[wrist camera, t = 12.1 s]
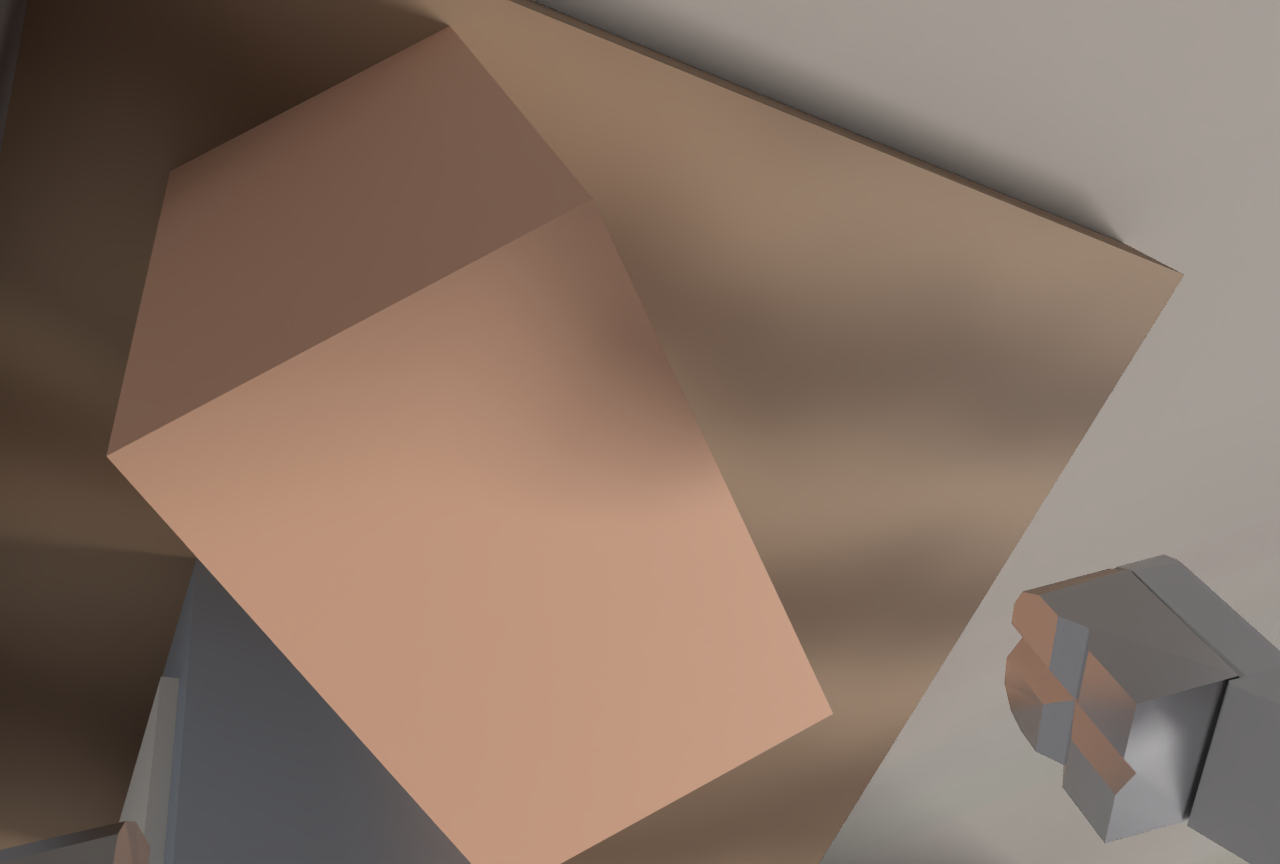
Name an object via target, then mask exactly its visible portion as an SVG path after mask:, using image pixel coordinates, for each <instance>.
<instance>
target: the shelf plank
mask: <svg viewBox="0 0 1280 864" xmlns="http://www.w3.org/2000/svg"><path fill="white" fill-rule="evenodd" d="M448 26H450V27H451V28H452V29H453V30H454V32H455V33H456V34H457V35H458V36H459V38H460V39H461V40H462V41H463V42H464V44H465V45H466V46H467V47H468V48H469V50H470V51H471V52H472V53H473V55H474V56H475V57H476V58H477V59H478V61H479V62H480V63H481V64H482V65H483V67H484V68H485V69H486V70H487V71H488V73H489V74H490V75H491V76H492V78H493V79H494V80H495V81H496V82H497V84H498V85H499V86H500V87H501V88H502V90H503V91H504V92H505V93H506V94H507V96H508V97H509V98H510V99H511V101H512V102H513V103H514V104H515V105H516V107H517V108H518V109H519V110H520V111H521V113H522V114H523V115H524V116H525V117H526V119H527V120H528V121H529V122H530V123H531V125H532V126H533V127H534V128H535V130H536V131H537V132H538V133H539V134H540V136H541V137H542V138H543V139H544V140H545V142H546V143H547V144H548V145H549V146H550V148H551V149H552V150H553V151H554V153H555V154H556V155H557V156H558V157H559V159H560V160H561V161H562V162H563V163H564V165H565V166H566V167H567V168H568V169H569V171H570V172H571V173H572V174H573V175H574V177H575V178H576V179H577V180H578V182H579V183H580V184H581V185H582V186H583V188H584V189H585V190H586V191H587V192H588V194H589V195H590V196H591V197H592V198H593V200H594V202H595V205H596V207H597V209H598V211H599V213H600V215H601V217H602V220H603V222H604V224H605V226H606V228H607V230H608V232H609V235H610V237H611V239H612V241H613V243H614V245H615V247H616V250H617V252H618V254H619V256H620V258H621V260H622V262H623V265H624V267H625V269H626V271H627V273H628V275H629V277H630V280H631V282H632V284H633V286H634V288H635V290H636V292H637V295H638V297H639V299H640V301H641V303H642V305H643V307H644V310H645V312H646V314H647V316H648V318H649V320H650V322H651V325H652V327H653V329H654V331H655V333H656V335H657V337H658V340H659V342H660V344H661V346H662V348H663V350H664V352H665V355H666V357H667V359H668V361H669V363H670V365H671V367H672V370H673V372H674V374H675V376H676V378H677V380H678V382H679V385H680V387H681V389H682V391H683V393H684V395H685V397H686V399H687V402H688V404H689V406H690V408H691V410H692V412H693V414H694V417H695V419H696V421H697V423H698V425H699V427H700V429H701V432H702V434H703V436H704V438H705V440H706V442H707V444H708V447H709V449H710V451H711V453H712V455H713V457H714V459H715V462H716V464H717V466H718V468H719V470H720V472H721V474H722V477H723V479H724V481H725V483H726V485H727V487H728V489H729V492H730V494H731V496H732V498H733V500H734V502H735V504H736V507H737V509H738V511H739V513H740V515H741V517H742V519H743V522H744V524H745V526H746V528H747V530H748V532H749V534H750V537H751V539H752V541H753V543H754V545H755V547H756V549H757V552H758V554H759V556H760V558H761V560H762V562H763V564H764V567H765V569H766V571H767V573H768V575H769V577H770V579H771V582H772V584H773V586H774V588H775V590H776V592H777V594H778V597H779V599H780V601H781V603H782V605H783V607H784V609H785V611H786V614H787V616H788V618H789V620H790V622H791V624H792V626H793V629H794V631H795V633H796V635H797V637H798V639H799V641H800V644H801V646H802V648H803V650H804V652H805V654H806V656H807V659H808V661H809V663H810V665H811V667H812V669H813V671H814V674H815V676H816V678H817V680H818V682H819V684H820V686H821V689H822V691H823V693H824V695H825V697H826V699H827V701H828V704H829V706H830V708H831V710H832V712H833V714H832V715H830V716H828V717H826V718H825V719H823V720H821V721H819V722H817V723H816V724H814V725H812V726H810V727H808V728H806V729H805V730H803V731H801V732H799V733H797V734H796V735H794V736H792V737H790V738H788V739H786V740H785V741H783V742H781V743H779V744H777V745H776V746H774V747H772V748H770V749H768V750H767V751H765V752H763V753H761V754H759V755H757V756H756V757H754V758H752V759H750V760H748V761H747V762H745V763H743V764H741V765H739V766H737V767H736V768H734V769H732V770H730V771H728V772H727V773H725V774H723V775H721V776H719V777H717V778H716V779H714V780H712V781H710V782H708V783H707V784H705V785H703V786H701V787H699V788H697V789H696V790H694V791H692V792H690V793H688V794H687V795H685V796H683V797H681V798H679V799H677V800H676V801H674V802H672V803H670V804H668V805H667V806H665V807H663V808H661V809H659V810H657V811H656V812H654V813H652V814H650V815H648V816H647V817H645V818H643V819H641V820H639V821H638V822H636V823H634V824H632V825H630V826H628V827H627V828H625V829H623V830H621V831H619V832H618V833H616V834H614V835H612V836H610V837H608V838H607V839H605V840H603V841H601V842H599V843H598V844H596V845H594V846H592V847H590V848H588V849H587V850H585V851H583V852H581V853H579V854H578V855H576V856H574V857H572V858H570V859H568V860H567V861H565V862H563V863H561V864H819V862H820V861H821V859H822V858H823V856H824V854H825V853H826V851H827V850H828V848H829V846H830V845H831V843H832V841H833V840H834V838H835V837H836V835H837V833H838V832H839V830H840V829H841V827H842V825H843V824H844V822H845V821H846V819H847V817H848V816H849V814H850V812H851V811H852V809H853V808H854V806H855V804H856V803H857V801H858V800H859V798H860V796H861V795H862V793H863V792H864V790H865V788H866V787H867V785H868V783H869V782H870V780H871V779H872V777H873V775H874V774H875V772H876V771H877V769H878V767H879V766H880V764H881V763H882V761H883V759H884V758H885V756H886V754H887V753H888V751H889V750H890V748H891V746H892V745H893V743H894V742H895V740H896V738H897V737H898V735H899V734H900V732H901V730H902V729H903V727H904V725H905V724H906V722H907V721H908V719H909V717H910V716H911V714H912V713H913V711H914V709H915V708H916V706H917V705H918V703H919V701H920V700H921V698H922V696H923V695H924V693H925V692H926V690H927V688H928V687H929V685H930V684H931V682H932V680H933V679H934V677H935V676H936V674H937V672H938V671H939V669H940V667H941V666H942V664H943V663H944V661H945V659H946V658H947V656H948V655H949V653H950V651H951V650H952V648H953V647H954V645H955V643H956V642H957V640H958V638H959V637H960V635H961V634H962V632H963V630H964V629H965V627H966V626H967V624H968V622H969V621H970V619H971V618H972V616H973V614H974V613H975V611H976V609H977V608H978V606H979V605H980V603H981V601H982V600H983V598H984V597H985V595H986V593H987V592H988V590H989V589H990V587H991V585H992V584H993V582H994V580H995V579H996V577H997V576H998V574H999V572H1000V571H1001V569H1002V568H1003V566H1004V564H1005V563H1006V561H1007V560H1008V558H1009V556H1010V555H1011V553H1012V551H1013V550H1014V548H1015V547H1016V545H1017V543H1018V542H1019V540H1020V539H1021V537H1022V535H1023V534H1024V532H1025V531H1026V529H1027V527H1028V526H1029V524H1030V522H1031V521H1032V519H1033V518H1034V516H1035V514H1036V513H1037V511H1038V510H1039V508H1040V506H1041V505H1042V503H1043V502H1044V500H1045V498H1046V497H1047V495H1048V493H1049V492H1050V490H1051V489H1052V487H1053V485H1054V484H1055V482H1056V481H1057V479H1058V477H1059V476H1060V474H1061V473H1062V471H1063V469H1064V468H1065V466H1066V464H1067V463H1068V461H1069V460H1070V458H1071V456H1072V455H1073V453H1074V452H1075V450H1076V448H1077V447H1078V445H1079V444H1080V442H1081V440H1082V439H1083V437H1084V435H1085V434H1086V432H1087V431H1088V429H1089V427H1090V426H1091V424H1092V423H1093V421H1094V419H1095V418H1096V416H1097V415H1098V413H1099V411H1100V410H1101V408H1102V406H1103V405H1104V403H1105V402H1106V400H1107V398H1108V397H1109V395H1110V394H1111V392H1112V390H1113V389H1114V387H1115V386H1116V384H1117V382H1118V381H1119V379H1120V377H1121V376H1122V374H1123V373H1124V371H1125V369H1126V368H1127V366H1128V365H1129V363H1130V361H1131V360H1132V358H1133V357H1134V355H1135V353H1136V352H1137V350H1138V348H1139V347H1140V345H1141V344H1142V342H1143V340H1144V339H1145V337H1146V336H1147V334H1148V332H1149V331H1150V329H1151V328H1152V326H1153V324H1154V323H1155V321H1156V319H1157V318H1158V316H1159V315H1160V313H1161V311H1162V310H1163V308H1164V307H1165V305H1166V303H1167V302H1168V300H1169V299H1170V297H1171V295H1172V294H1173V292H1174V290H1175V289H1176V287H1177V286H1178V284H1179V282H1180V281H1181V279H1182V278H1183V276H1184V274H1182V273H1180V272H1178V271H1176V270H1174V269H1172V268H1170V267H1168V266H1166V265H1164V264H1163V263H1161V262H1159V261H1157V260H1155V259H1153V258H1151V257H1149V256H1147V255H1145V254H1143V253H1141V252H1140V251H1138V250H1136V249H1134V248H1132V247H1130V246H1128V245H1126V244H1124V243H1121V242H1119V241H1116V240H1114V239H1112V238H1109V237H1107V236H1104V235H1102V234H1099V233H1097V232H1094V231H1092V230H1090V229H1087V228H1085V227H1082V226H1080V225H1077V224H1075V223H1073V222H1070V221H1068V220H1065V219H1063V218H1060V217H1058V216H1055V215H1053V214H1051V213H1048V212H1046V211H1043V210H1041V209H1038V208H1036V207H1034V206H1031V205H1029V204H1026V203H1024V202H1021V201H1019V200H1016V199H1014V198H1012V197H1009V196H1007V195H1004V194H1002V193H999V192H997V191H995V190H992V189H990V188H987V187H985V186H982V185H980V184H977V183H975V182H973V181H970V180H968V179H965V178H963V177H960V176H958V175H955V174H953V173H951V172H948V171H946V170H943V169H941V168H938V167H936V166H934V165H931V164H929V163H926V162H924V161H921V160H919V159H916V158H914V157H912V156H909V155H907V154H904V153H902V152H899V151H897V150H895V149H892V148H890V147H887V146H885V145H882V144H880V143H877V142H875V141H873V140H870V139H868V138H865V137H863V136H860V135H858V134H856V133H853V132H851V131H848V130H846V129H843V128H841V127H838V126H836V125H834V124H831V123H829V122H826V121H824V120H821V119H819V118H817V117H814V116H812V115H809V114H807V113H804V112H802V111H799V110H797V109H795V108H792V107H790V106H787V105H785V104H782V103H780V102H777V101H775V100H773V99H770V98H768V97H765V96H763V95H760V94H758V93H756V92H753V91H751V90H748V89H746V88H743V87H741V86H738V85H736V84H734V83H731V82H729V81H726V80H724V79H721V78H719V77H717V76H714V75H712V74H709V73H707V72H704V71H702V70H699V69H697V68H695V67H692V66H690V65H687V64H685V63H682V62H680V61H678V60H675V59H673V58H670V57H668V56H665V55H663V54H660V53H658V52H656V51H653V50H651V49H648V48H646V47H643V46H641V45H639V44H636V43H634V42H631V41H629V40H626V39H624V38H621V37H619V36H617V35H614V34H612V33H609V32H607V31H604V30H602V29H599V28H597V27H595V26H592V25H590V24H587V23H585V22H582V21H580V20H578V19H575V18H573V17H570V16H568V15H565V14H563V13H560V12H558V11H556V10H553V9H551V8H548V7H546V6H543V5H541V4H539V3H536V2H534V1H531V0H0V850H1V849H6V848H10V847H14V846H19V845H23V844H27V843H32V842H36V841H40V840H45V839H49V838H54V837H58V836H62V835H67V834H71V833H75V832H80V831H84V830H88V829H93V828H97V827H101V826H106V825H110V824H114V823H119V820H120V817H121V813H122V810H123V807H124V803H125V800H126V796H127V793H128V789H129V786H130V782H131V779H132V775H133V772H134V768H135V765H136V761H137V758H138V754H139V751H140V747H141V744H142V741H143V737H144V734H145V730H146V727H147V723H148V720H149V716H150V713H151V709H152V706H153V702H154V699H155V695H156V692H157V688H158V685H159V681H160V678H161V676H163V672H164V669H165V665H166V662H167V658H168V655H169V651H170V648H171V645H172V641H173V638H174V634H175V631H176V627H177V624H178V620H179V617H180V613H181V610H182V606H183V603H184V599H185V596H186V593H187V589H188V586H189V582H190V579H191V575H192V572H193V568H194V565H195V561H196V558H197V557H196V556H195V555H194V553H193V552H192V551H191V550H190V549H189V548H188V547H187V546H186V545H185V543H184V542H183V541H182V540H181V539H180V538H179V537H178V536H177V534H176V533H175V532H174V531H173V530H172V529H171V528H170V527H169V526H168V524H167V523H166V522H165V521H164V520H163V519H162V518H161V517H160V515H159V514H158V513H157V512H156V511H155V510H154V509H153V508H152V507H151V505H150V504H149V503H148V502H147V501H146V500H145V499H144V498H143V496H142V495H141V494H140V493H139V492H138V491H137V490H136V489H135V488H134V486H133V485H132V484H131V483H130V482H129V481H128V480H127V479H126V477H125V476H124V475H123V474H122V473H121V472H120V471H119V470H118V469H117V467H116V466H115V465H114V464H113V463H112V462H111V461H110V460H109V459H108V457H107V451H108V447H109V442H110V438H111V433H112V429H113V424H114V420H115V415H116V411H117V406H118V402H119V397H120V393H121V389H122V384H123V380H124V375H125V371H126V366H127V362H128V357H129V353H130V348H131V344H132V339H133V335H134V330H135V326H136V321H137V317H138V312H139V308H140V304H141V299H142V295H143V290H144V286H145V281H146V277H147V272H148V268H149V263H150V259H151V254H152V250H153V245H154V241H155V236H156V232H157V227H158V223H159V218H160V214H161V210H162V205H163V201H164V196H165V192H166V187H167V183H168V178H169V174H170V171H172V170H174V169H176V168H178V167H180V166H181V165H183V164H185V163H187V162H189V161H191V160H193V159H195V158H197V157H199V156H201V155H203V154H205V153H206V152H208V151H210V150H212V149H214V148H216V147H218V146H220V145H222V144H224V143H226V142H228V141H229V140H231V139H233V138H235V137H237V136H239V135H241V134H243V133H245V132H247V131H249V130H251V129H253V128H254V127H256V126H258V125H260V124H262V123H264V122H266V121H268V120H270V119H272V118H274V117H276V116H277V115H279V114H281V113H283V112H285V111H287V110H289V109H291V108H293V107H295V106H297V105H299V104H301V103H302V102H304V101H306V100H308V99H310V98H312V97H314V96H316V95H318V94H320V93H322V92H324V91H325V90H327V89H329V88H331V87H333V86H335V85H337V84H339V83H341V82H343V81H345V80H347V79H349V78H350V77H352V76H354V75H356V74H358V73H360V72H362V71H364V70H366V69H368V68H370V67H372V66H373V65H375V64H377V63H379V62H381V61H383V60H385V59H387V58H389V57H391V56H393V55H395V54H397V53H398V52H400V51H402V50H404V49H406V48H408V47H410V46H412V45H414V44H416V43H418V42H420V41H421V40H423V39H425V38H427V37H429V36H431V35H433V34H435V33H437V32H439V31H441V30H443V29H445V28H446V27H448Z"/></svg>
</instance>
